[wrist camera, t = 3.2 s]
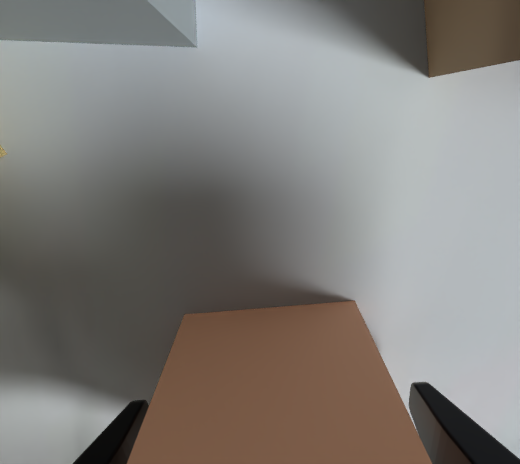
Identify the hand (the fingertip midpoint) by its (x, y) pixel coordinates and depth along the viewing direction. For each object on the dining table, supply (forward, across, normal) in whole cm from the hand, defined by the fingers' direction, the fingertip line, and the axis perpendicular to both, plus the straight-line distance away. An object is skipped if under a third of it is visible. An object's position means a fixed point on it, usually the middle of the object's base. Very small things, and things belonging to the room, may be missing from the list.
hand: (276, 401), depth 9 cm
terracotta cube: (+1, 0, 0) cm, 1 cm away
